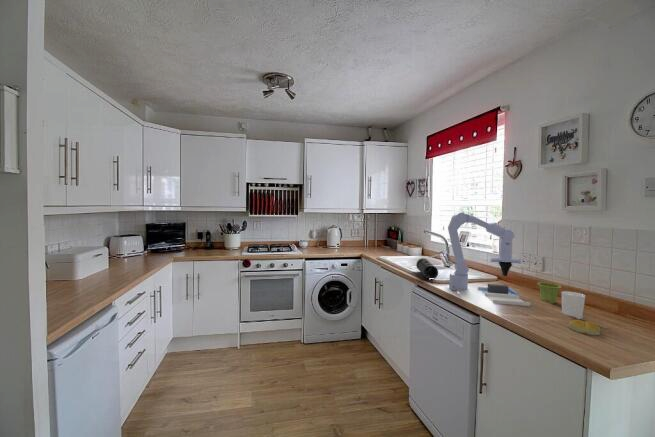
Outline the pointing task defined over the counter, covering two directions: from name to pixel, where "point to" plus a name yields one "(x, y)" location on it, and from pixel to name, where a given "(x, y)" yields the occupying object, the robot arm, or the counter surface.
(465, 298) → the counter surface
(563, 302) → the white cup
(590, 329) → the bread roll
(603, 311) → the counter surface
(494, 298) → the tray
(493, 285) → the dark gray rectangular block
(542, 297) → the plant pot
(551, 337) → the counter surface
